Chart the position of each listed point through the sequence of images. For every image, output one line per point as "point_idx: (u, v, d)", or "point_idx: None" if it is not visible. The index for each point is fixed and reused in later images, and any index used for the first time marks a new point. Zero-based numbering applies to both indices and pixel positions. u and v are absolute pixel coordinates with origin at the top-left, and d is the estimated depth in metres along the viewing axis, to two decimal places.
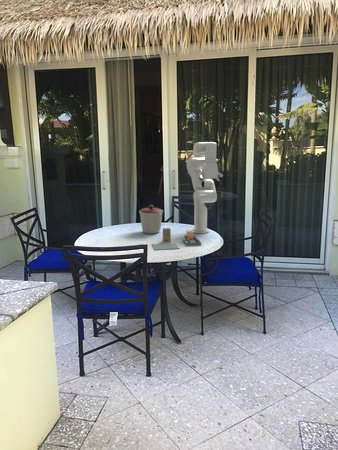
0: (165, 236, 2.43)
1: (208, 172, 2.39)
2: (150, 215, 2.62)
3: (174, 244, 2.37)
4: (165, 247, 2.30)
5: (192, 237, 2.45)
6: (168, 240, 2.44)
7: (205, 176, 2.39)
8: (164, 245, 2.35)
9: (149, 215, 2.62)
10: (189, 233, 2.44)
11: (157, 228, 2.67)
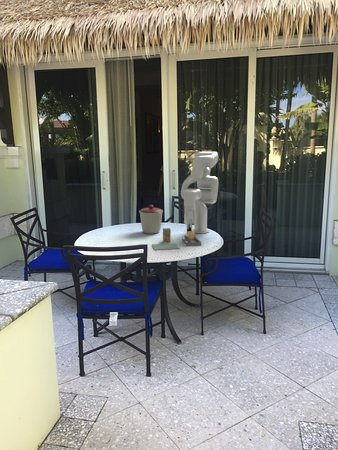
0: (165, 236, 2.43)
1: None
2: (150, 215, 2.62)
3: (174, 244, 2.37)
4: (165, 247, 2.30)
5: (193, 238, 2.43)
6: (168, 240, 2.44)
7: (193, 223, 2.44)
8: (164, 245, 2.35)
9: (149, 215, 2.62)
10: (190, 234, 2.42)
11: (157, 228, 2.67)
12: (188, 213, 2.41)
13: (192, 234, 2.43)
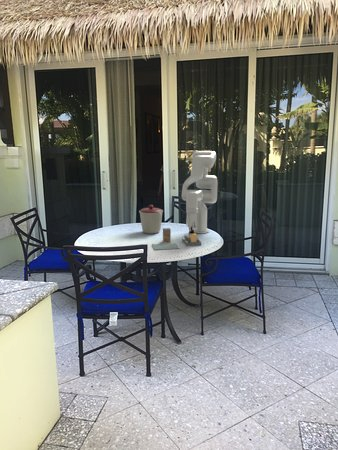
0: (165, 236, 2.43)
1: None
2: (150, 215, 2.62)
3: (174, 244, 2.37)
4: (165, 247, 2.30)
5: (195, 240, 2.37)
6: (168, 240, 2.44)
7: (196, 225, 2.37)
8: (164, 245, 2.35)
9: (149, 215, 2.62)
10: (192, 236, 2.36)
11: (157, 228, 2.67)
12: (190, 215, 2.34)
13: (194, 236, 2.36)
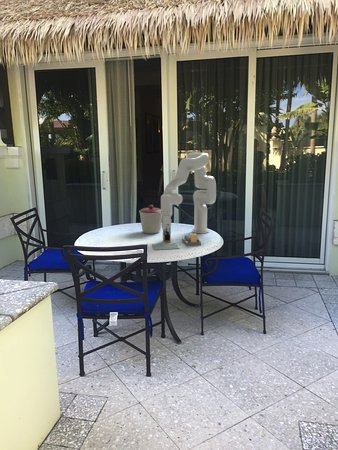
0: None
1: None
2: (150, 215, 2.62)
3: (174, 244, 2.37)
4: (165, 247, 2.30)
5: (195, 240, 2.37)
6: (168, 240, 2.44)
7: (170, 228, 2.41)
8: (164, 245, 2.35)
9: (149, 215, 2.62)
10: (192, 236, 2.36)
11: (157, 228, 2.67)
12: (165, 218, 2.38)
13: (194, 236, 2.36)
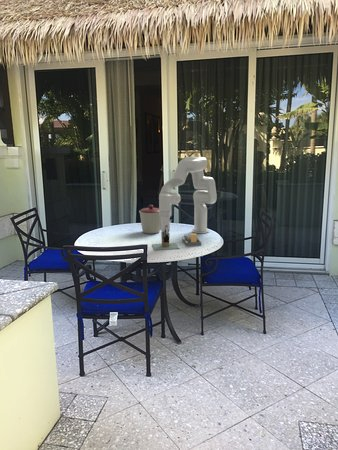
0: None
1: None
2: (150, 215, 2.62)
3: (174, 244, 2.37)
4: (165, 247, 2.30)
5: (195, 240, 2.37)
6: (167, 244, 2.31)
7: (169, 229, 2.27)
8: None
9: (149, 215, 2.62)
10: (192, 236, 2.36)
11: (157, 228, 2.67)
12: (163, 219, 2.25)
13: (194, 236, 2.36)
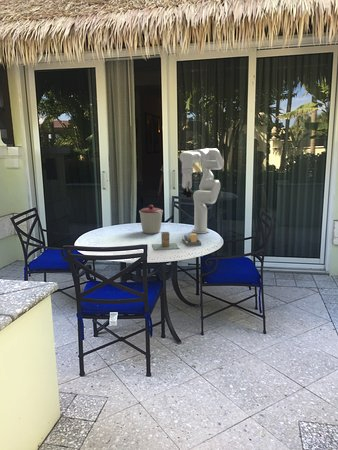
0: (164, 240, 2.30)
1: None
2: (150, 215, 2.62)
3: (174, 244, 2.37)
4: (165, 247, 2.30)
5: (195, 240, 2.37)
6: (167, 244, 2.31)
7: (191, 186, 2.41)
8: None
9: (149, 215, 2.62)
10: (192, 236, 2.36)
11: (157, 228, 2.67)
12: (186, 175, 2.38)
13: (194, 236, 2.36)
